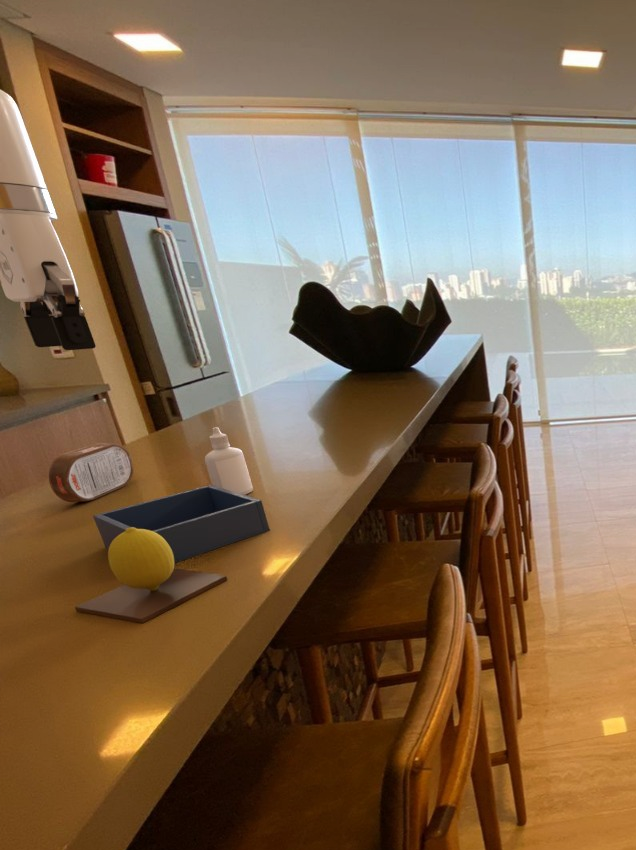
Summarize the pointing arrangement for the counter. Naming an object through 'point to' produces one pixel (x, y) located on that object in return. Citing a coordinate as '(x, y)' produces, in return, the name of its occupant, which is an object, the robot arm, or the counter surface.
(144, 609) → the coaster
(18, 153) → the robot arm
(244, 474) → the eye dropper bottle
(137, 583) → the lemon
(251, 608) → the counter surface
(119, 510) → the tote
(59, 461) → the tin
